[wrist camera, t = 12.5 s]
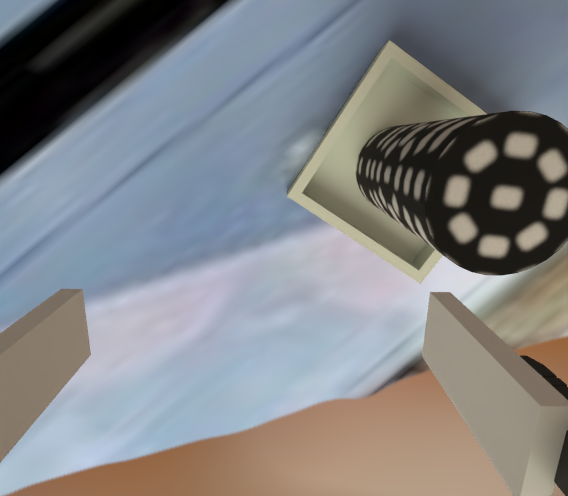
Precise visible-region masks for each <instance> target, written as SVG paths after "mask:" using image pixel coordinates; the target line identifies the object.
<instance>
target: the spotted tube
mask: <svg viewBox="0 0 568 496" xmlns="http://www.w3.org/2000/svg"><path fill="white" fill-rule="evenodd" d="M356 180H357V183H358V186H359V189H360V191H361V193H362V194H363V196H364V197H365V198H366V199H367V200H368V201H369V202H370V203H371V204H373V205H374V206H376V207H377V208H378V209H380V210H381V211H382V212H384V213H385V214H387V215H388V216H389V217H391V218H392V219H394V220H395V221H396V222H398V223H399V224H401V225H402V226H403V227H405V228H406V229H408V230H409V231H410V232H412V233H413V234H415V235H416V236H417V237H419V238H420V239H421V240H423V241H424V242H426V243H427V244H428V245H430V246H431V247H433V248H434V249H435V250H437V251H438V252H440V253H441V254H442V255H444V256H445V257H447V258H448V259H449V260H451V261H452V262H453V263H455V264H456V265H458V266H460V267H462V268H464V269H466V270H468V271H471V272H474V273H479V274H484V275H507V274H513V273H518V272H521V271H524V270H527V269H530V268H532V267H534V266H536V265H538V264H540V263H541V262H543V261H545V260H547V259H548V258H549V257H551V256H552V255H553V254H554V253H556V252H557V251H558V250H560V248H561V247H562V246H563V245H564V244H565V243H566V242H567V241H568V129H567V128H566V127H565V126H564V125H563V124H562V123H560V122H558V121H556V120H554V119H552V118H550V117H548V116H547V115H543V114H539V113H535V112H531V111H508V112H501V113H493V114H485V115H477V116H469V117H461V118H454V119H446V120H438V121H430V122H422V123H415V124H407V125H399V126H393V127H388V128H386V129H383V130H381V131H379V132H378V133H376V134H375V135H373V136H372V137H371V138H370V139H369V140H368V141H367V142H366V144H365V145H364V146H363V148H362V150H361V152H360V154H359V156H358V160H357V163H356Z"/></svg>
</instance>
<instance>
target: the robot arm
mask: <svg viewBox="0 0 568 496" xmlns="http://www.w3.org/2000/svg"><path fill="white" fill-rule="evenodd" d="M90 355H91V352H90V344H89V337H88V329H87V321H86V313H85V306H84V298H83V290H82V289H61V290H59V291H58V292H57V293H55V294H54V295H53V296H51V297H50V298H48V299H47V300H46V301H44V302H43V303H42V304H40V305H39V306H37V307H36V308H35V309H33V310H32V311H31V312H29V313H28V314H26V315H25V316H24V317H22V318H21V319H19V320H18V321H17V322H15V323H14V324H13V325H11V326H10V327H8V328H7V329H6V330H4V331H3V332H2V333H0V462H1V461H2V460H3V459H4V458H5V456H6V455H7V454H8V453H9V452H10V451H11V449H12V448H13V447H14V446H15V445H16V443H17V442H18V441H19V440H20V439H21V437H22V436H23V435H24V434H25V433H26V431H27V430H28V429H29V428H30V427H31V425H32V424H33V423H34V422H35V421H36V419H37V418H38V417H39V416H40V415H41V414H42V412H43V411H44V410H45V409H46V408H47V406H48V405H49V404H50V403H51V402H52V400H53V399H54V398H55V397H56V396H57V394H58V393H59V392H60V391H61V390H62V388H63V387H64V386H65V385H66V384H67V382H68V381H69V380H70V379H71V378H72V377H73V375H74V374H75V373H76V372H77V371H78V369H79V368H80V367H81V366H82V365H83V363H84V362H85V361H86V360H87V359H88V357H89V356H90ZM422 357H423V358H424V360H425V361H426V363H427V365H428V366H429V368H430V369H431V371H432V372H433V374H434V375H435V377H436V378H437V379H438V381H439V383H440V384H441V386H442V387H443V389H444V390H445V392H446V394H447V395H448V397H449V398H450V400H451V401H452V403H453V404H454V406H455V407H456V409H457V410H458V412H459V413H460V415H461V417H462V418H463V420H464V421H465V422H466V424H467V426H468V427H469V429H470V430H471V432H472V433H473V435H474V436H475V438H476V439H477V441H478V443H479V444H480V446H481V447H482V448H483V450H484V452H485V453H486V455H487V456H488V458H489V459H490V461H491V462H492V464H493V465H494V467H495V469H496V470H497V472H498V473H499V475H500V476H501V477H502V479H503V481H504V482H505V484H506V485H507V487H508V488H509V490H510V491H511V493H512V494H513V496H552V493H553V490H554V485H555V483H556V484H557V486H558V487H559V488H560V489H561V491H562V492H563V493H564V494H565V496H568V387H567V385H566V384H565V383H564V382H563V381H562V380H561V379H559V378H557V377H556V375H555V374H554V373H552V372H551V371H550V370H549V369H548V368H547V367H546V366H544V365H543V364H541V363H539V362H537V361H535V360H534V359H532V358H530V357H528V356H519V355H518V354H517V353H516V352H515V351H514V350H512V349H511V348H510V347H509V346H508V345H507V344H506V343H505V342H504V341H503V340H502V339H500V338H499V337H498V336H497V335H496V334H495V333H494V332H493V331H492V330H491V329H490V328H488V327H487V326H486V325H485V324H484V323H483V322H482V321H481V320H480V319H479V318H478V317H476V316H475V315H474V314H473V313H472V312H471V311H470V310H469V309H468V308H467V307H466V306H464V305H463V304H462V303H461V302H460V301H459V300H458V299H457V298H456V297H455V296H453V295H452V294H451V293H450V292H430V298H429V306H428V314H427V322H426V330H425V338H424V346H423V354H422Z"/></svg>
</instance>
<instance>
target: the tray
mask: <svg viewBox="0 0 568 496" xmlns="http://www.w3.org/2000/svg"><path fill="white" fill-rule="evenodd" d="M485 114H487V113H485V112H484V111H483V110H481V109H480V108H479V107H477V106H476V105H475V104H473V103H472V102H471V101H469V100H468V99H467V98H465V97H464V96H463V95H461V94H460V93H459V92H458V91H456V90H455V89H454V88H452V87H451V86H450V85H448V84H447V83H446V82H444V81H443V80H442V79H440V78H439V77H438V76H436V75H435V74H434V73H432V72H431V71H430V70H428V69H427V68H426V67H424V66H423V65H422V64H420V63H419V62H418V61H416V60H415V59H414V58H412V57H411V56H410V55H408V54H407V53H406V52H405V51H403V50H402V49H401V48H399V47H398V46H397V45H395V44H394V43H393V42H391V41H390V40H389V41H388V42H387V43H386V44H385V45H384V46H383V47H382V48H381V49H380V51H379V52H378V54H377V56H376V57H375V59H374V60H373V62H372V63H371V65H370V66H369V68H368V69H367V71H366V72H365V74H364V75H363V77H362V78H361V80H360V81H359V83H358V84H357V86H356V88H355V89H354V91H353V92H352V94H351V95H350V97H349V98H348V100H347V101H346V103H345V104H344V106H343V107H342V109H341V110H340V112H339V113H338V115H337V116H336V118H335V120H334V121H333V123H332V124H331V126H330V127H329V129H328V130H327V132H326V133H325V135H324V136H323V138H322V139H321V141H320V142H319V144H318V145H317V147H316V148H315V150H314V152H313V153H312V155H311V156H310V158H309V159H308V161H307V162H306V164H305V165H304V167H303V168H302V170H301V171H300V173H299V174H298V176H297V177H296V179H295V180H294V182H293V184H292V185H291V187H290V188H289V190H288V191H287V196H288V197H289V198H291V199H292V200H294V201H295V202H297V203H298V204H300V205H301V206H303V207H304V208H306V209H307V210H309V211H311V212H312V213H314V214H315V215H317V216H318V217H320V218H321V219H323V220H324V221H326V222H327V223H329V224H330V225H332V226H333V227H335V228H336V229H338V230H339V231H341V232H343V233H344V234H346V235H347V236H349V237H350V238H352V239H353V240H355V241H356V242H358V243H359V244H361V245H362V246H364V247H365V248H367V249H368V250H370V251H371V252H373V253H375V254H376V255H378V256H379V257H381V258H382V259H384V260H385V261H387V262H388V263H390V264H391V265H393V266H394V267H396V268H397V269H399V270H400V271H402V272H403V273H405V274H407V275H408V276H410V277H411V278H413V279H414V280H416V281H417V282H419V283H420V284H421V282H422V281H423V280H424V279H425V277H426V276H427V275H428V274H429V272H430V271H431V270H432V269H433V267H434V266H435V265H436V263H437V262H438V261H439V260H440V258H441V257H442V256H443V255H442V254H441V253H440V252H438V251H437V250H435V249H434V248H433V247H431V246H430V245H428V244H427V243H426V242H424V241H423V240H421V239H420V238H419V237H417V236H416V235H415V234H413V233H412V232H410V231H409V230H408V229H406V228H405V227H403V226H402V225H401V224H399V223H398V222H396V221H395V220H394V219H392V218H391V217H389V216H388V215H387V214H385V213H384V212H382V211H381V210H380V209H378V208H377V207H376V206H374V205H373V204H371V203H370V202H369V201H368V200H367V199H366V198H365V197H364V196H363V194H362V193H361V191H360V189H359V186H358V183H357V180H356V163H357V160H358V156H359V154H360V152H361V150H362V148H363V146H364V145H365V144H366V142H367V141H368V140H369V139H370V138H371V137H372V136H373V135H375V134H376V133H378V132H379V131H381V130H383V129H386V128H388V127H393V126H399V125H407V124H415V123H422V122H430V121H438V120H446V119H454V118H461V117H469V116H477V115H485Z"/></svg>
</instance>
